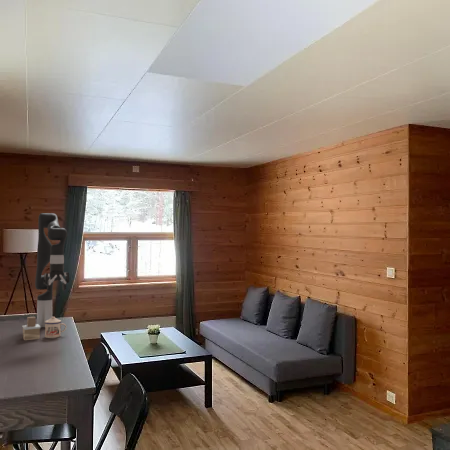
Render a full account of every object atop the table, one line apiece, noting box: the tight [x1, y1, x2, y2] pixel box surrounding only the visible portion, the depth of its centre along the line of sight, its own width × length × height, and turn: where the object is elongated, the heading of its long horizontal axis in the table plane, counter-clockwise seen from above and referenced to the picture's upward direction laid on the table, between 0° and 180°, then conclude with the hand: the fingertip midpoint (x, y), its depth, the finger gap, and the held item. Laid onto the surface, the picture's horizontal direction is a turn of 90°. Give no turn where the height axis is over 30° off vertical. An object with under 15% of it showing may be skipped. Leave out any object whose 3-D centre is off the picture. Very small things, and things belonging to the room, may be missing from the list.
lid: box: [21, 316, 41, 330], centre depth 270 cm, size 9×9×7 cm
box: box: [22, 327, 41, 341], centre depth 270 cm, size 8×8×6 cm
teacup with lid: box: [44, 316, 67, 339], centre depth 275 cm, size 12×9×12 cm
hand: (56, 291), depth 268 cm, fingers open, 8 cm apart
